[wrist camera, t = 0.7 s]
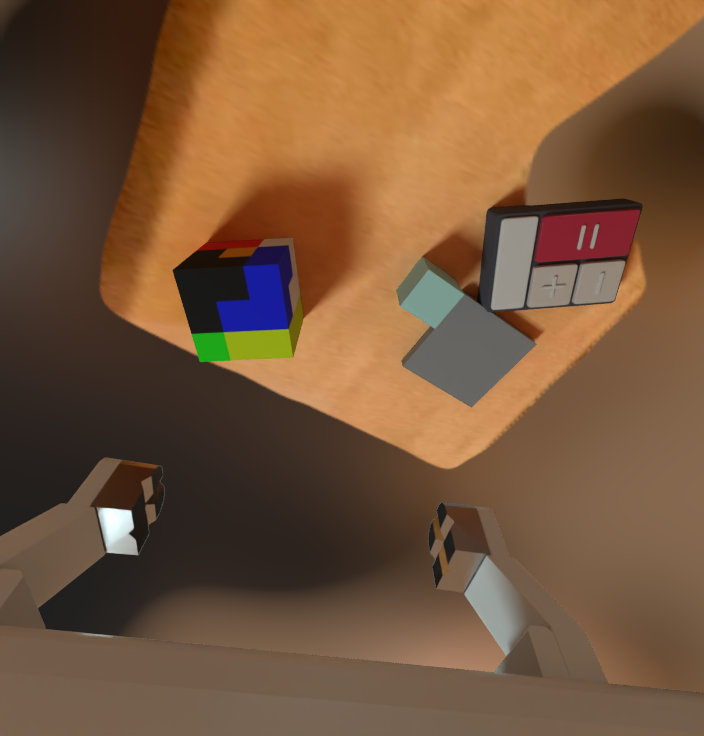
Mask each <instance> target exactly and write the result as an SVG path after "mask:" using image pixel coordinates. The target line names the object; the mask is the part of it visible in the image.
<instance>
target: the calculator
mask: <svg viewBox="0 0 704 736" xmlns="http://www.w3.org/2000/svg"><path fill="white" fill-rule="evenodd" d="M641 210H642V204H641V203H638V202H634V201H631V200H627V199H611V200H599V201H586V202H572V203H560V204H547V205H534V206H510V207H495V208H490V209H488V211H487V215H486V225H485V234H484V244H483V254H482V264H481V273H480V283H479V293H478V301H479V302H480V303H481V305H482V306H483V307H484V308H485V310H486V311H487V312H502V311H514V310H527V309H540V308H553V307H566V306H579V305H592V304H605V303H612V302H614V301H615V299H616V296H617V292H618V289H619V285H620V282H621V278H622V275H623V272H624V268H625V265H626V261H627V258H628V255H629V251H630V248H631V244H632V241H633V238H634V234H635V231H636V227H637V224H638V221H639V217H640V214H641Z"/></svg>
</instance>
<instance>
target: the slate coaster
mask: <svg viewBox="0 0 704 736" xmlns="http://www.w3.org/2000/svg"><path fill="white" fill-rule="evenodd" d="M462 291H463V290H462ZM463 293H464V296H463V297H462V298H461V299H460V300H459V302H458V303H457V304H456V305H455V306H454V307H453V308H452V310H451V311H450V312H449V313H448V314H447V315H446V317H445V318H444V319H443V320H442V321H441V322H440V324H439V325H438V326H437V327H436V328H435V329H434V328H433V327H430V328H429V329H428V330H427V331H426V332H425V334H424V335H423V336H422V337H421V338H420V339H419V341H418V342H417V343H416V344H415V345H414V347H413V348H412V349H411V350H410V351H409V352H408V354H407V355H406V356H405V357H404V358H403V359H402V365H403V367H405V368H406V369H408V370H410V371H411V372H413V373H415V374H416V375H418V376H420V377H421V378H423V379H425V380H426V381H428V382H430V383H431V384H433V385H435V386H436V387H438V388H440V389H442V390H443V391H445V392H447V393H448V394H450V395H452V396H453V397H455V398H457V399H458V400H460V401H462V402H463V403H465V404H467V405H468V406H470V407H473V406H474V405H475V404H476V403H477V402H478V401H479V400H480V399H481V398H482V397H483V396H484V395H485V394H486V393H487V392H488V391H489V390H490V389H491V388H492V387H493V386H494V385H495V384H496V383H497V382H498V381H499V380H500V379H501V378H502V377H503V376H504V375H505V374H507V373H508V372H509V371H510V370H511V369H512V368H513V367H514V366H515V365H516V364H517V363H518V362H519V361H520V360H521V359H522V358H523V357H524V356H525V355H526V354H527V353H528V352H529V351H530V350H531V349H532V348H533V347H534V346H535V345H536V343H535V342H534V340H533V339H532V338H530V337H529V336H528V335H526V334H525V333H523V332H522V331H520V330H519V329H518V328H516V327H515V326H513V325H512V324H510V323H509V322H508V321H506V320H505V319H503V318H502V317H500V316H499V315H498V314H496V313H495V312H487V311H486V310H485V308H484V307H483V306H482V305H481V303H480V302H479V301H478V300H476V299H475V298H473V297H472V296H471V295H469V294H468V293H466V292H465V291H463Z"/></svg>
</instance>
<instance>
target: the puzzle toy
mask: <svg viewBox="0 0 704 736" xmlns="http://www.w3.org/2000/svg"><path fill="white" fill-rule="evenodd" d="M173 273H174V277H175V280H176V283H177V287H178V290H179V293H180V297H181V300H182V303H183V307H184V310H185V313H186V317H187V320H188V323H189V327H190V330H191V333H192V337H193V340H194V344H195V347H196V350H197V354H198V357H199V360H200V362H209V361H230V360H251V359H272V358H293V356H294V352H295V349H296V345H297V341H298V338H299V334H300V330H301V326H302V323H303V319H304V316H303V309H302V301H301V294H300V286H299V279H298V272H297V264H296V257H295V249H294V242H293V238H277V239H260V240H244V241H227V242H210V243H205V244H204V245H203V246H202V247H200V248H199V249H198V250H197V251H196V252H194V253H193V254H192V255H191V256H189V257H188V258H187V259H186V260H185V261H183V262H182V263H181V264H180V265H178V266H177V267H176V268H175V269H173Z"/></svg>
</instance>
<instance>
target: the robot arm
mask: <svg viewBox="0 0 704 736" xmlns="http://www.w3.org/2000/svg"><path fill="white" fill-rule="evenodd" d="M162 476H163V471H162V467H161V466H158V465H151V464H144V463H139V462H132V461H126V460H118V459H111V458H104V459H103V460H101V461H100V462H99V463H98V464H97V465H96V467H95V468H94V469H93V471H92V472H91V473H90V475H89V476H88V477H87V479H86V480H85V481H84V483H83V484H82V485H81V486H80V488H79V489H78V491H77V492H76V493H75V494H74V496H73V497H72V498H71V500H70V501H69V502H68V504H59V505H58V506H56V507H54V508H52V509H50V510H48V511H47V512H45V513H43V514H41V515H39V516H37V517H35V518H34V519H32V520H30V521H28V522H26V523H25V524H23V525H21V526H19V527H17V528H15V529H13V530H12V531H10V532H8V533H6V534H4V535H2V536H0V736H704V693H703V692H692V691H682V690H672V689H671V690H670V689H661V688H651V687H640V686H630V685H618V684H609V683H608V682H607V679H606V677H605V675H604V673H603V671H602V668H601V666H600V663H599V661H598V659H597V657H596V655H595V652H594V650H593V648H592V646H591V643H590V641H589V639H588V637H587V634H586V632H585V630H584V629H583V628H582V627H581V626H580V625H579V624H578V623H577V622H576V621H575V620H574V619H573V618H572V617H571V616H570V614H569V613H568V612H567V611H566V610H565V609H564V608H563V607H562V606H561V605H560V604H559V603H558V602H557V601H556V600H555V599H554V598H553V597H552V596H551V595H550V594H549V593H548V592H547V591H546V590H545V589H544V588H543V587H542V586H541V585H540V584H539V583H538V582H537V581H536V580H535V579H534V578H533V577H532V576H531V575H530V574H529V572H527V570H526V569H525V568H524V567H523V566H522V565H521V564H520V563H519V562H518V561H517V560H516V559H515V558H510V557H509V554H508V551H507V548H506V545H505V543H504V540H503V537H502V535H501V532H500V529H499V526H498V523H497V521H496V518H495V515H494V512H493V511H492V509H490V508H483V507H473V506H468V505H460V504H452V503H441V504H440V505H439V506H438V508H437V515H438V517H437V518H435V519H434V520H432V523H431V525H430V528H429V536H428V541H429V550H430V553H431V554H432V556H433V557H434V558H435V559H436V560H435V562H434V564H433V567H432V568H433V574H434V579H435V585H436V589H441V590H448V591H455V592H463V593H465V596H466V597H467V599H468V600H469V602H470V603H471V605H472V606H473V608H474V609H475V611H476V612H477V614H478V615H479V617H480V618H481V620H482V621H483V622H484V624H485V625H486V627H487V628H488V630H489V631H490V633H491V634H492V636H493V637H494V639H495V640H496V642H497V643H498V644H499V646H500V647H501V649H502V650H503V651H504V653H505V655H506V657H505V659H504V660H503V661H502V663H501V664H500V665H499V667H498V668H497V669H496V670H495V672H484V671H483V672H482V671H473V670H463V669H452V668H441V667H432V666H421V665H411V664H401V663H400V664H399V663H390V662H380V661H370V660H359V659H349V658H339V657H328V656H318V655H307V654H296V653H287V652H276V651H265V650H256V649H244V648H235V647H224V646H213V645H203V644H193V643H182V642H172V641H161V640H150V639H141V638H140V639H139V638H130V637H120V636H109V635H99V634H89V633H78V632H67V631H56V630H47V629H45V625H44V623H43V620H42V618H41V616H40V613H39V611H38V609H37V608H39V607H40V606H41V605H42V604H44V603H45V602H46V601H47V600H49V599H50V598H51V597H52V596H54V595H55V594H56V593H57V592H59V591H60V590H61V589H62V588H64V587H65V586H66V585H67V584H68V583H70V582H71V581H72V580H74V579H75V578H76V577H77V576H79V575H80V574H81V573H82V572H84V571H85V570H86V569H87V568H88V567H90V566H91V565H92V564H94V563H95V562H96V561H97V560H99V559H100V558H101V557H102V556H104V555H105V552H108V553H119V554H131V555H139V552H140V551H141V549H142V547H143V545H144V543H145V541H146V539H147V537H148V535H149V527H148V525H149V524H150V523H152V522H153V521H155V520H156V519H157V517H158V515H159V513H160V511H161V508H162V504H163V501H164V493H165V491H164V486H163V485H162V483H161V482H160V480H161V478H162Z"/></svg>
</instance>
